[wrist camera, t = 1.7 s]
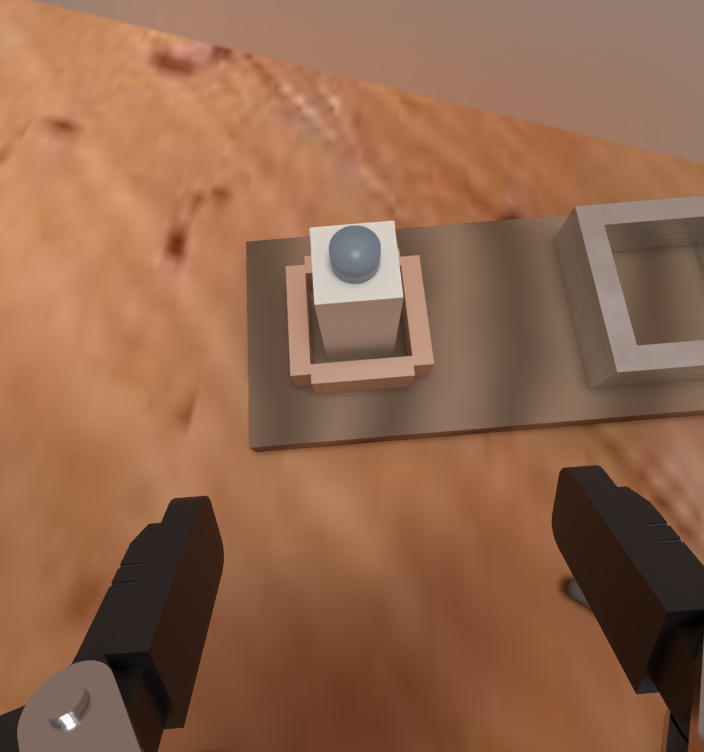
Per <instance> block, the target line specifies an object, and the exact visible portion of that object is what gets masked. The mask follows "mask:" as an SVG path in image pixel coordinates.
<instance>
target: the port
mask: <svg viewBox="0 0 704 752" xmlns="http://www.w3.org/2000/svg"><path fill="white" fill-rule="evenodd" d="M553 243H554V247H555V251H556V256H557V260H558V264H559V269H560V273H561V277H562V281H563V286H564V290H565V294H566V299H567V303H568V307H569V311H570V316H571V320H572V324H573V329H574V333H575V337H576V342H577V346H578V350H579V354H580V359H581V363H582V367H583V372H584V376H585V380H586V384H587V389H588V390H589V389H601V388H613V387H625V386H637V385H649V384H661V383H673V382H685V381H697V380H704V340H698V341H686V342H674V343H662V344H650V345H638V346H637V344H636V340H635V336H634V333H633V329H632V325H631V321H630V318H629V314H628V310H627V307H626V303H625V299H624V296H623V292H622V288H621V285H620V281H619V277H618V274H617V270H616V266H615V263H614V259H613V255H612V254H613V253H625V252H637V251H649V250H661V249H673V248H685V247H694V250H695V253H696V256H697V259H698V262H699V265H700V268H701V271H702V274H703V277H704V196H694V197H682V198H670V199H658V200H646V201H634V202H622V203H611V204H599V205H587V206H575V208H574V209H573V211H572V212H571V213H570V215H569V216H568V218H567V219H566V221H565V222H564V224H563V225H562V227H561V228H560V230H559V231H558V233H557V234H556V236H555V237H554V239H553Z"/></svg>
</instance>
